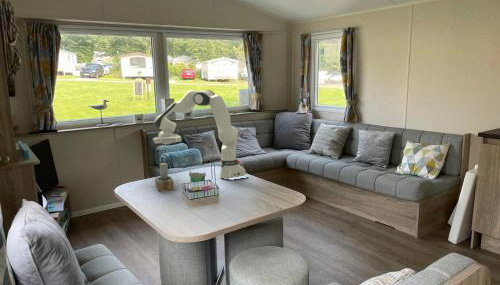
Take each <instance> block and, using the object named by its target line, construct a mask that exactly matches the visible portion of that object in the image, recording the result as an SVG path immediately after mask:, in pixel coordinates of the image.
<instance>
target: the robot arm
mask: <svg viewBox="0 0 500 285" xmlns="http://www.w3.org/2000/svg"><path fill="white" fill-rule="evenodd" d="M196 105H197V106H200V107H203V106H204V107H206V106H209V107H210V108H211V111H212V114H213V117H214V120H215V123H216V128H217V132H218V135H217V136H218V140H219V141H220V142H221V143H222V145H221V149H220V150H221V152H220V153H221V154H220V155H221V156H220V172H219V176H220V177H221V178H233V177H239V176H244V175H246V174H247V173H246V169H245V168H244V167H243V166H242V165H240V164H241V160H239V159H237V143H238V135H239V130H238V128H237V127H235V126H234V125H232V122H231V115H230V112H229V109H228V108H227V105H226V102H225V100H224V98H223V97H222V95H219V94H217V95H216V94H215V92H213V91H212V90H210V89H207V90H205V89H204V90H200V91H196V90H193V89H190V90H188V91H187V92H186V93H185V94H184V95H183V96H182V98H181V99H180V100H178V101H174V102H172V103H171V104H169V106H168V107H167V108H165V109H164V110H163V111H162V112H161V113H160V114H159V115H158V116H156V117H155V118H154V121H153V125H154V127H155V128H157V129H158V130H159V129H160V130H161V131H159V132H158V134H157V137H156V136H155V137H153V138H152V141H153V144H163V145H170V144H174V143H181V142H182V136H181V135H178V133H177V132H178V125H177V123H175V122H174V121H171V120H170V119H168V116H169V115H170V114H172V113H173V112H175V113H180V114H188V113H190V112H191V111H192V110H193V109H194V108H195V106H196ZM221 178H220V179H221Z"/></svg>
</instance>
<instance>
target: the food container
mask: <svg viewBox="0 0 500 285" xmlns="http://www.w3.org/2000/svg"><path fill="white" fill-rule="evenodd" d="M188 176H189V179H190V183H191V182H199V181H204V182H205V180H206V178H205V177H206V176H207V174H206V172H203V173H200V172H192V171H191V170H190V171H189V173H188Z"/></svg>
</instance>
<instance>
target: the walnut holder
mask: <svg viewBox="0 0 500 285" xmlns="http://www.w3.org/2000/svg"><path fill="white" fill-rule="evenodd" d="M154 182H155V187H156V190H157V191H158V192H164V191H165V192H167V191H175V190H174V180H173V178H172V177H171V176H169V175H168V180H162V181H160V176H157V177H155V180H154Z"/></svg>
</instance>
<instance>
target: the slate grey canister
mask: <svg viewBox="0 0 500 285" xmlns="http://www.w3.org/2000/svg"><path fill="white" fill-rule="evenodd" d="M168 166H169V164H168V163H167V162H161V163H159V172H160V173H159V174H160V175H159V177H160V181H162V180H168V176H169V173H168V172H169V171H168V168H169V167H168Z"/></svg>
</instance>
